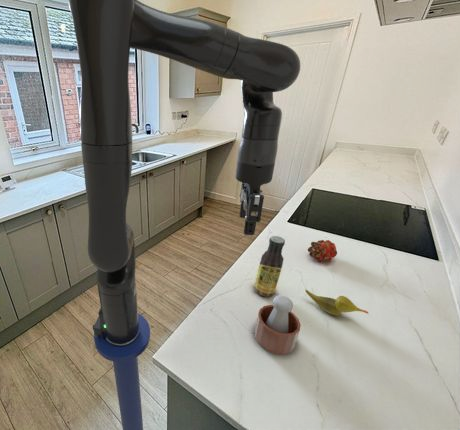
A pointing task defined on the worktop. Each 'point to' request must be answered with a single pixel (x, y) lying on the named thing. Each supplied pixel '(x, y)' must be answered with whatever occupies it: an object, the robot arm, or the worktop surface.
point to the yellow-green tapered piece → (335, 304)
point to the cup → (276, 333)
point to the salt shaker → (280, 314)
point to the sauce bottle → (270, 267)
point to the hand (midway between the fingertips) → (246, 225)
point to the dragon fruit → (322, 250)
